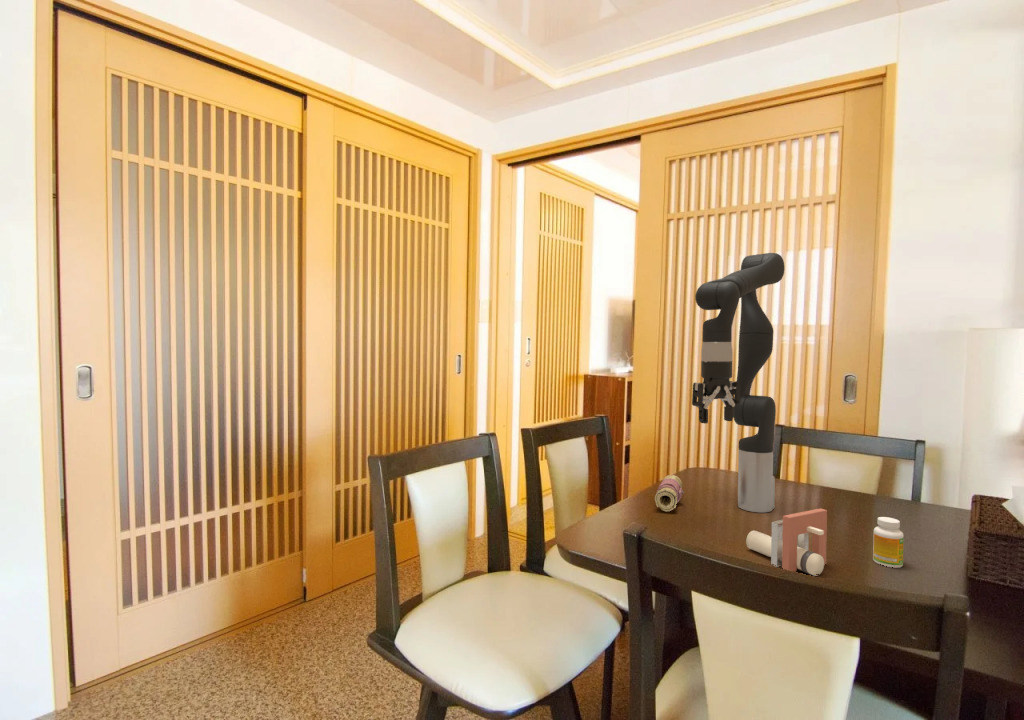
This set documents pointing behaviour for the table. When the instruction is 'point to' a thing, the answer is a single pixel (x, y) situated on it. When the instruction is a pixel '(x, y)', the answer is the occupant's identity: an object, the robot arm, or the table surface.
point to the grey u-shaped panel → (777, 542)
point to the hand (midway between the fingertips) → (716, 422)
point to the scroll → (669, 493)
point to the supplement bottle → (888, 543)
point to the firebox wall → (800, 525)
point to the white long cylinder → (762, 544)
